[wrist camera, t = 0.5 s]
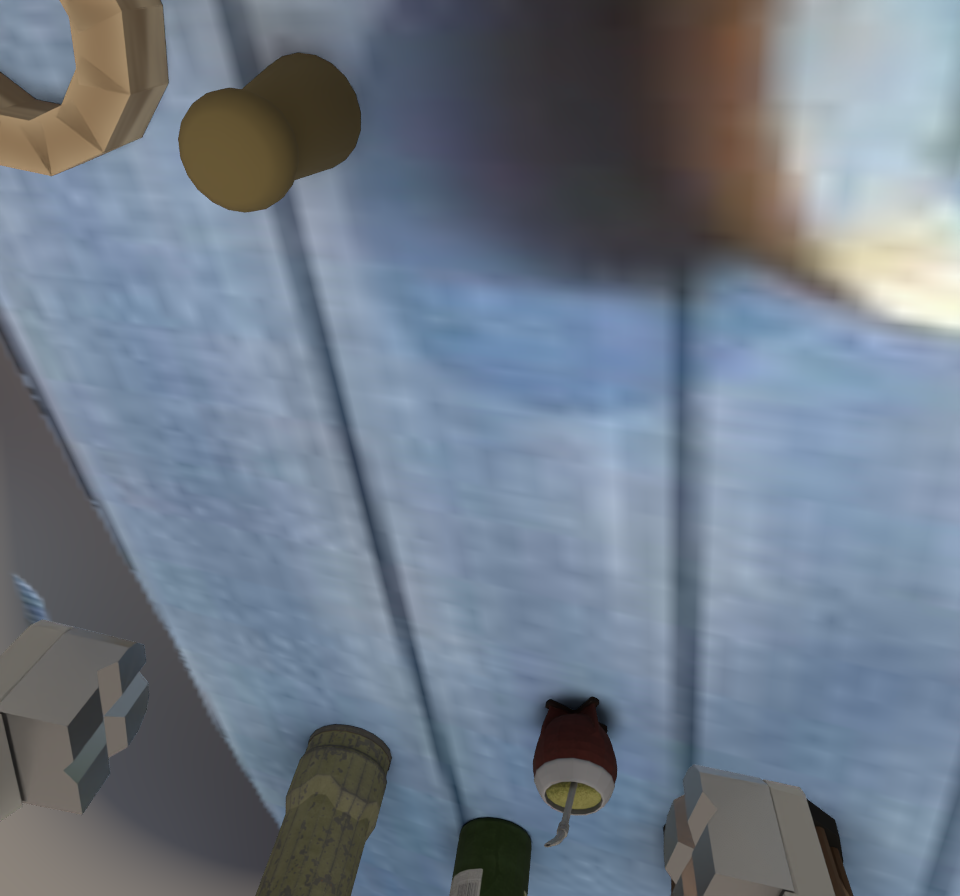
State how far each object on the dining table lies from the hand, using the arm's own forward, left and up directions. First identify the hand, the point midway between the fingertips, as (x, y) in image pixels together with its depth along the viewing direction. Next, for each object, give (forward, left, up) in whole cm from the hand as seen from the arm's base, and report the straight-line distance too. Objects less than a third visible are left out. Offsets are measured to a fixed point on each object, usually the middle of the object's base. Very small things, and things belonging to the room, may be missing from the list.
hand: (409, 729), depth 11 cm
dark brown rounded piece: (0, -14, -36) cm, 39 cm away
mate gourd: (+46, +12, -36) cm, 60 cm away
